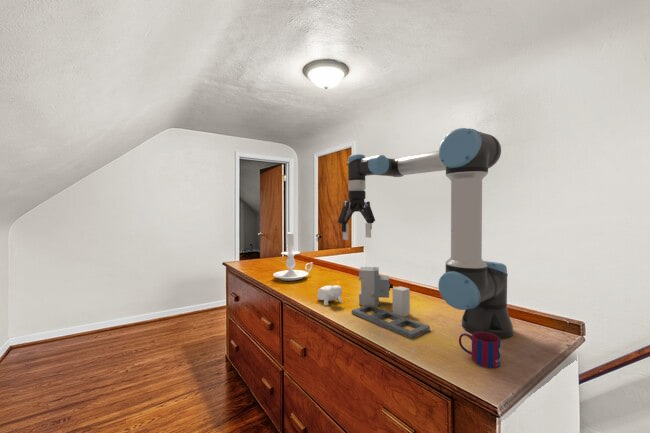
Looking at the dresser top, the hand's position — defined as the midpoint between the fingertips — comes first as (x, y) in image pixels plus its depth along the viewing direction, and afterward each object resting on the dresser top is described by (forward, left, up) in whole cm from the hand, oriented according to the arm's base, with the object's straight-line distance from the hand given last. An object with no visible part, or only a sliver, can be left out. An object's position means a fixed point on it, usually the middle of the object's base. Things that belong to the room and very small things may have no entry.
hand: (357, 238), depth 129 cm
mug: (-57, +9, -28) cm, 64 cm away
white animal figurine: (+6, +11, -28) cm, 31 cm away
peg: (-22, -2, -28) cm, 36 cm away
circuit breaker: (-7, -4, -28) cm, 29 cm away
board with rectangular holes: (-24, +8, -28) cm, 38 cm away
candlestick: (+54, +1, -28) cm, 61 cm away
